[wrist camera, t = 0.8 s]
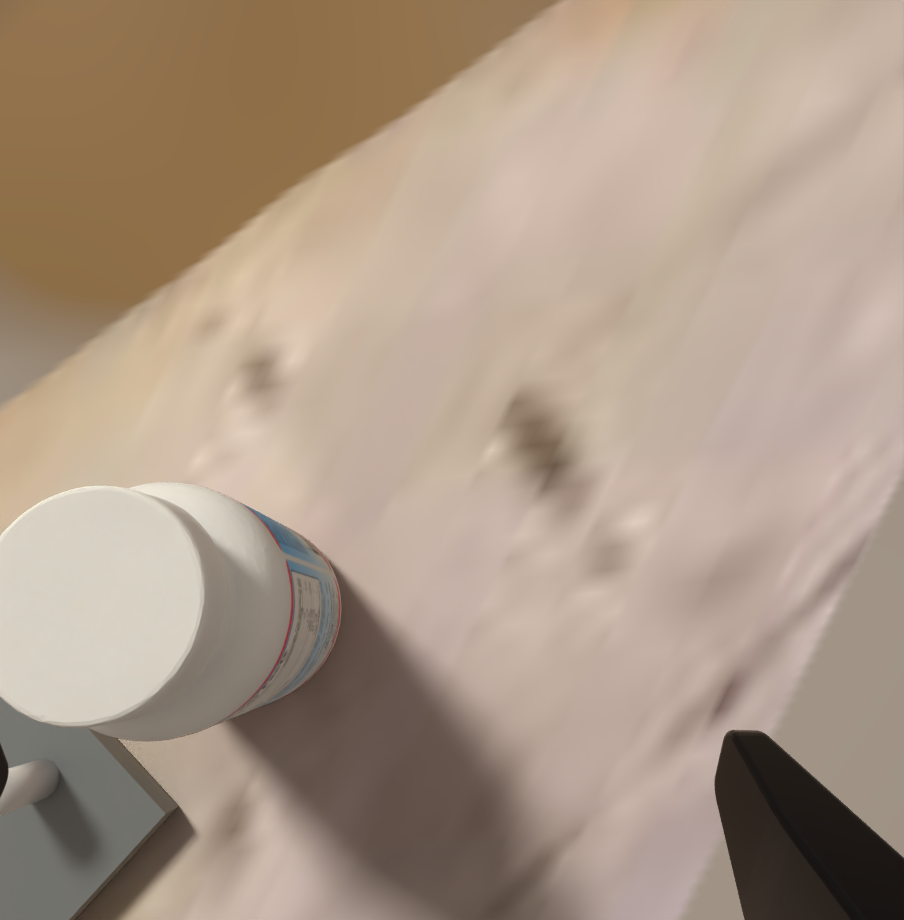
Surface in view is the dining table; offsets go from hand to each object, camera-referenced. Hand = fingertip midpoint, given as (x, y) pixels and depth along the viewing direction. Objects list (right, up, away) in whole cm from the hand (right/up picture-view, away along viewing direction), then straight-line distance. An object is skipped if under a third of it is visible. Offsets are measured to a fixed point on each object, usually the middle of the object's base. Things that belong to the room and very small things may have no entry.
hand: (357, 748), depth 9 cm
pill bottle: (-6, -2, +16) cm, 17 cm away
